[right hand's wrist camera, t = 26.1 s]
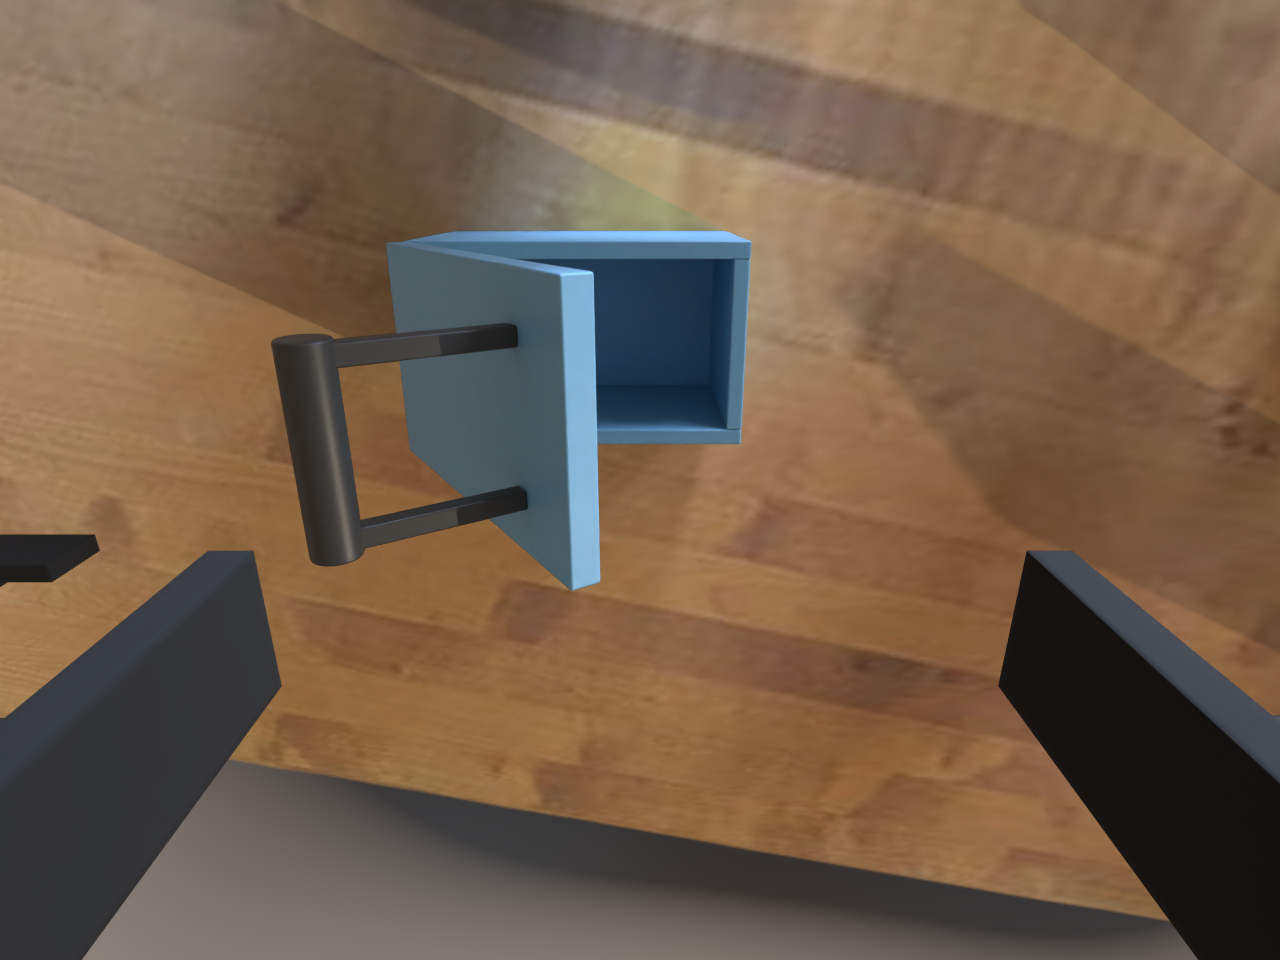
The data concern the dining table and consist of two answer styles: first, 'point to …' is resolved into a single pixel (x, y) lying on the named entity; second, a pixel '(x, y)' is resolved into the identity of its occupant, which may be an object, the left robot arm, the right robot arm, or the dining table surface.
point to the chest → (651, 324)
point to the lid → (462, 408)
